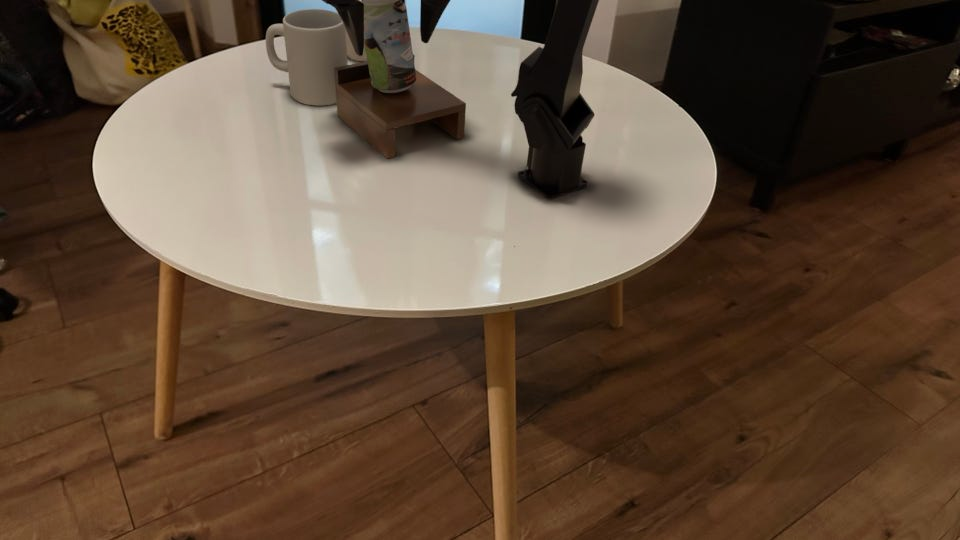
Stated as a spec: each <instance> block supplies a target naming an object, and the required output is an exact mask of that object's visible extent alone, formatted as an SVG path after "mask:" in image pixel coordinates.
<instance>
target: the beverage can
mask: <svg viewBox="0 0 960 540" xmlns="http://www.w3.org/2000/svg"><path fill="white" fill-rule="evenodd" d="M361 2H362V3H364V45H365V51H366V56H367V62H368V67H369V73H370V79H371V84H372V86H373V87H374V88H376V89H378V90H379V91H381V92H384V93H396V92H401V91H404V90H407V89H408V88H410V87H411V85H412V84H413V83H414V82H415V81H416V72H415V69H416V66H415V65H416V64H415V57H414V58H413V54H414V52H413V44H412V38H411V31H410V23H409V17H408V9H407V5H406V4H405V2H404V1H403V0H361Z"/></svg>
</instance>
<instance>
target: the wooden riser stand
mask: <svg viewBox="0 0 960 540" xmlns="http://www.w3.org/2000/svg"><path fill="white" fill-rule="evenodd" d="M413 58H414V59H415V54H414V53H413ZM415 72H416V81H415V82H414V83H413V84H412V85H411V87H410V88H408V89H407V90H404V91H401V92H396V93H384V92H381V91H379V90H378V89H376V88H374V87H373V86H372V84H371V79H370V73H369V67H368V62H367V61H360V62H356V63H351V64H348V65H346V66H341V67H336V68H334V74H335V87H336V102H337V103H336V112H337V117H338V118H339V119H341V121H343V122H344V123H345V124H346V125H348V126H349V127H350V128H351V129H352V130H353V131H354V132H356V133H357V134H358V135H359V136H360V137H361V138H363V140H365V141H366V142H367V143H369V145H371V146H372V147H373V148H374V149H375V150H377V151H378V152H379V153H380V154H381V155H382V156H383V157H384V158H386V159H392V158H395V157H396V129H398V128H401V127H406V126H409V125H414V124H417V123H421V122H425V121H429V120H430V121H431V122H433V123H434V124H436V125H437V126H438V127H440V128H441V129H442V130H443V131H445V132H446V133H448V134H449V135H451V136H452V137H453V138H454V139H456V140H460V139H463V138H465V132H466V131H465V130H466V110H467V103H466V102H465V101H463V100H462V99H461V98H459V97H458V96H456V95H454V94H453V93H451V92H449V90H447V89H446V88H445V87H442V86H441V85H439V84H438V83H437V82H435V81H433V80H432V79H431V78H429V77H427V76H426V75H425V74H423V73H421V72H420V71H419V70H417V69H416V68H415Z"/></svg>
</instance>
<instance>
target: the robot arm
mask: <svg viewBox="0 0 960 540" xmlns="http://www.w3.org/2000/svg"><path fill="white" fill-rule="evenodd" d="M321 1H322V2H324V3H326V5H330V6H331V7H333V8H334V9H335V11H336V12H337V13H338V14H339V16H340V17H341V19H342V21H343V24H344V26H345V28H346V31H347V33H348V36H349V38H350V40H351V43H352V45H353V48H354V50H355V52H356V54H357V55H359V56H362V55H363V49H364V3H362V2H361V1H359V0H321ZM450 2H451V0H420V11H419V13H420V16H419V17H420V18H419V33H420V40H421V42H422V43H423V44H428V43H429V42H430V39H431V38H432V35H433V34H434V31H435V29H436V27H437V26H438V23H439V21H440V19H441V18H442V15H443V14H444V12H445V10H446V9H447V7H448V6H449V3H450ZM599 2H600V0H557V1H556V5H555V8H554V11H553V14H552V17H551V22H550V25H549V28H548V31H547V35H546V38H545V42H544V45H543V47H541V46H538V47H536V49H534V50H533V52H531V53H530V54H529V55H528V56H527V57H525V59H523V61H521V62H520V64H519V65H520V66H519V68H518V74H517V75H518V77H517V84H516V86H515V88H514V90H513V91H512V92H511V94H510V96H511V97H512V98H513V97H515V100H514V113H515V114H516V115H517V117H518V118H519V120H520V122H521V123H522V124H523V127H524V132H525V136H526V140H527V145H528V153H527V161H526V167H527V168H526V169H523V170H520V171H518V172H517V177H518V178H519V179H520V180H522V181H523V182H525V183H526V184H527V185H529V186H530V187H531V188H533V189H534V190H536V191H537V192H538V193H540V194H541V195H542V196H543V197H545V198H547V199H549V200H552V199H556V198H558V197H560V196H564V195H567V194H569V193H573V192H575V191H578V190H580V189H584V188H586V187H588V185H589V181H588V180H587V179H585V178H584V177H583V176H581V175H582V169H583V163H584V157H585V152H586V147H587V144H586V142H584V141H583V140H584V139H583V136H582V134H583V132H584V131H585V130H587V129H588V127H589V125H590V124H591V122H592V121H593V119H594V117H595V112H594V111H593V109H592V107H591V106H590V105H589V104H588V102H587V101H586V99H585V98H584V96H583V95H582V94H581V86H582V79H583V73H584V71H583V70H584V69H583V68H584V67H583V64H584V63H583V51H584V47H585V43H586V41H587V37H588V34H589V31H590V29H591V25H592V22H593V19H594V16H595V13H596V11H597V7H598V4H599Z"/></svg>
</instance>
